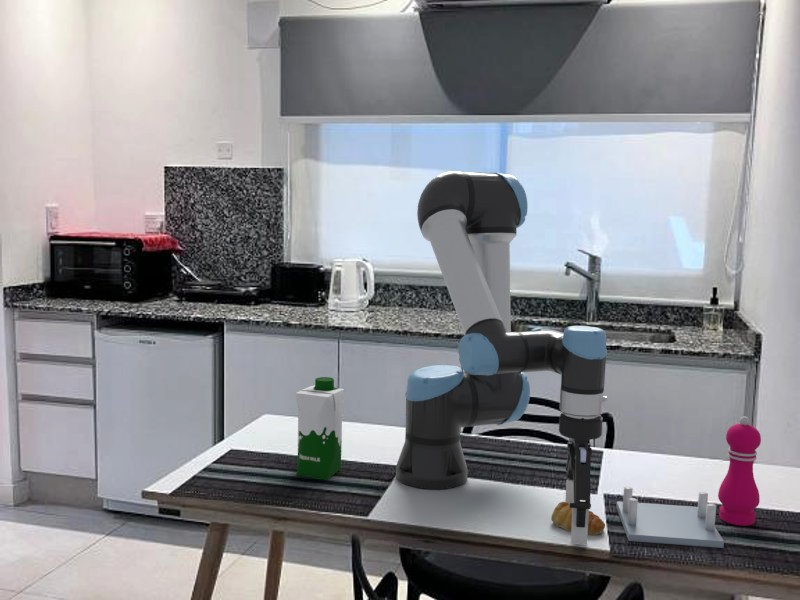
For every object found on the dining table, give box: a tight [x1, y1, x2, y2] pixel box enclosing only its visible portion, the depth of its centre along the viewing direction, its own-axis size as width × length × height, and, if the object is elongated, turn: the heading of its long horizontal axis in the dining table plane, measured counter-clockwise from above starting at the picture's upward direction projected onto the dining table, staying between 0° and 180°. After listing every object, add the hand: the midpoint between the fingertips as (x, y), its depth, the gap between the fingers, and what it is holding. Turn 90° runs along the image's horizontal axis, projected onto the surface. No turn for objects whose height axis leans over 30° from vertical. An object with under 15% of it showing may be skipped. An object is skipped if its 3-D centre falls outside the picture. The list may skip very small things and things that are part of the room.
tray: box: [615, 486, 725, 549], centre depth 150 cm, size 16×16×6 cm
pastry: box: [550, 501, 606, 536], centre depth 148 cm, size 9×7×4 cm
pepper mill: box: [717, 415, 762, 527], centre depth 153 cm, size 7×7×20 cm
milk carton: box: [295, 376, 345, 481], centre depth 173 cm, size 9×9×20 cm
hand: (575, 528), depth 148 cm, fingers open, 13 cm apart
